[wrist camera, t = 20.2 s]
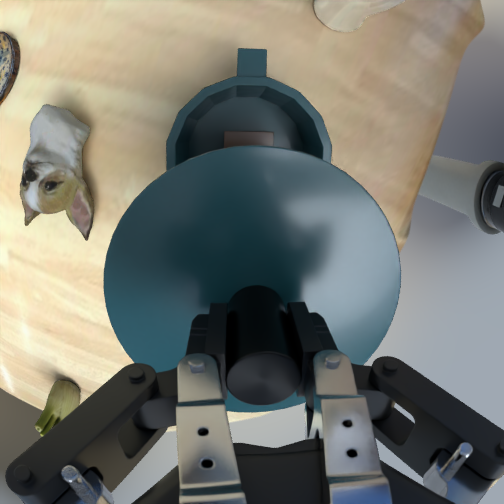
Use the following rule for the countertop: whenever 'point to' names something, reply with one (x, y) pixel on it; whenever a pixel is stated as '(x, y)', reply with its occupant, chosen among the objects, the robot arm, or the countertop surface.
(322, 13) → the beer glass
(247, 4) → the countertop surface
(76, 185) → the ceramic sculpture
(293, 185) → the lid
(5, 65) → the burger
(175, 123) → the pot
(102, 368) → the countertop surface
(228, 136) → the block
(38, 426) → the fennel bulb
